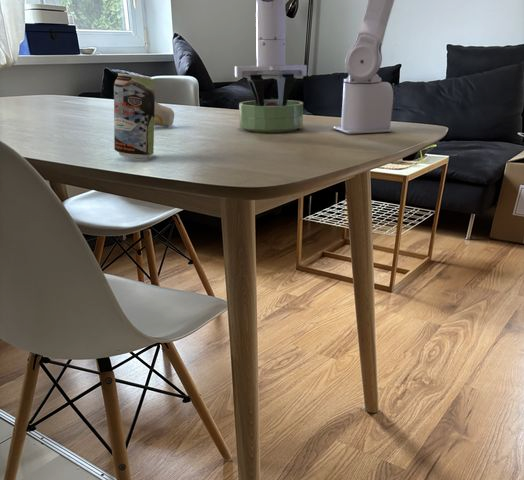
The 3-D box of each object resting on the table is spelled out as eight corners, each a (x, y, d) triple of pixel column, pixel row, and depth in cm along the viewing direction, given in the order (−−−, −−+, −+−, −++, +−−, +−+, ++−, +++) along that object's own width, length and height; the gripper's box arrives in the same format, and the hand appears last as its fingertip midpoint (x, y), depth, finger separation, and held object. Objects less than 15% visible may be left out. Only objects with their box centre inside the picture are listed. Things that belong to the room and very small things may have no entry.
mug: (180, 129, 110) (153, 85, 103) (142, 150, 112) (113, 109, 105) (180, 116, 115) (154, 73, 108) (144, 136, 117) (117, 96, 111)
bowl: (291, 123, 115) (291, 98, 112) (311, 131, 104) (312, 104, 101) (234, 126, 112) (233, 101, 109) (248, 135, 101) (247, 107, 99)
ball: (277, 121, 110) (277, 101, 108) (283, 123, 106) (283, 102, 104) (259, 122, 109) (259, 101, 107) (264, 124, 105) (264, 103, 103)
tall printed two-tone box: (108, 158, 82) (95, 73, 75) (147, 152, 86) (138, 71, 80) (130, 163, 78) (117, 74, 71) (169, 157, 82) (161, 72, 76)
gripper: (239, 40, 95) (241, 119, 102) (313, 39, 98) (310, 116, 105) (231, 40, 101) (234, 115, 108) (301, 39, 104) (299, 112, 111)
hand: (271, 115), depth 107 cm, fingers closed on ball, 4 cm apart
